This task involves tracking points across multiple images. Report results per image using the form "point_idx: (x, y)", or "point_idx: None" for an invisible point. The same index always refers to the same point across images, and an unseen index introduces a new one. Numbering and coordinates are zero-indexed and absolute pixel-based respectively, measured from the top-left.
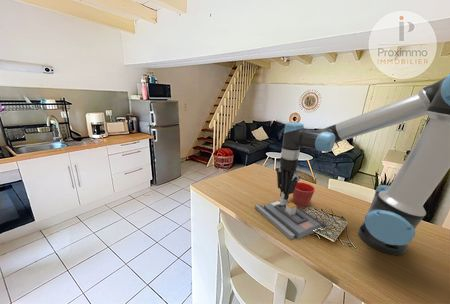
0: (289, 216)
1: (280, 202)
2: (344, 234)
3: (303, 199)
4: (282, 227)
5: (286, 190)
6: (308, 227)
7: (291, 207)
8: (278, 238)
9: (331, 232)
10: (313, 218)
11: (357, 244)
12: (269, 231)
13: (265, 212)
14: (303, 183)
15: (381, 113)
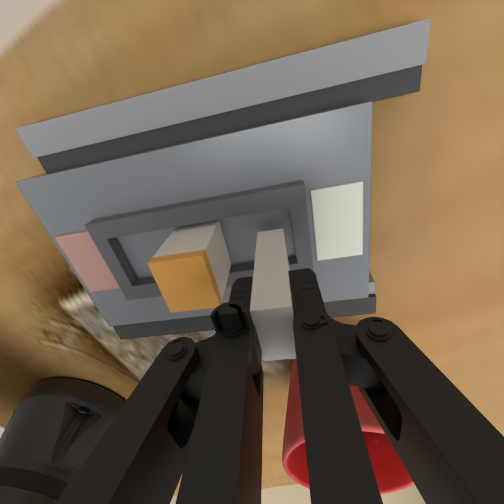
0: (150, 214)
1: (281, 236)
2: (104, 357)
3: (296, 382)
4: (95, 117)
5: (210, 366)
6: (70, 260)
7: (149, 263)
8: (38, 44)
9: (112, 331)
10: (174, 328)
11: (58, 355)
12: (103, 8)
13: (285, 74)
14: (393, 483)
15: None
